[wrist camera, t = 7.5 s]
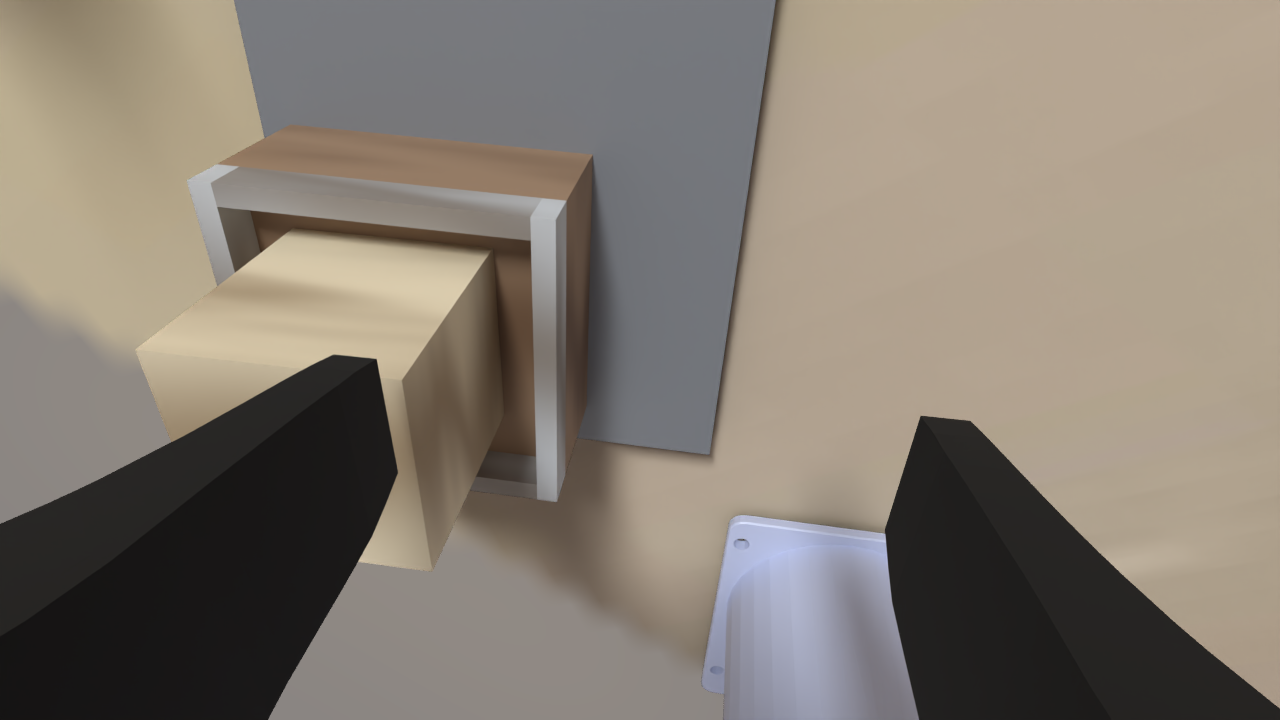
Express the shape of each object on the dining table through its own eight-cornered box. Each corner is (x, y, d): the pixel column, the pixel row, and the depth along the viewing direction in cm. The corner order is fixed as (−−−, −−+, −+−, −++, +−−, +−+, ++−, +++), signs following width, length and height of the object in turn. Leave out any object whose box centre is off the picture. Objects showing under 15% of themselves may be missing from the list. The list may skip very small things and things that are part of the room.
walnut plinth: (586, 406, 22) (557, 501, 18) (340, 375, 22) (268, 463, 19) (592, 154, 18) (555, 219, 14) (290, 124, 18) (186, 180, 15)
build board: (710, 433, 23) (709, 454, 22) (339, 387, 24) (324, 406, 23) (825, -361, 13) (830, -377, 12) (178, -392, 14) (143, -409, 13)
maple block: (504, 414, 18) (432, 571, 14) (330, 394, 19) (210, 542, 15) (493, 248, 16) (401, 380, 12) (292, 228, 16) (135, 349, 12)
